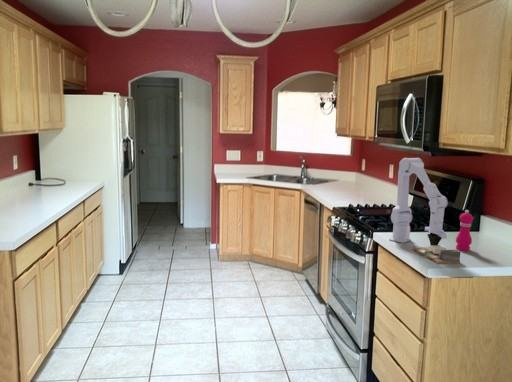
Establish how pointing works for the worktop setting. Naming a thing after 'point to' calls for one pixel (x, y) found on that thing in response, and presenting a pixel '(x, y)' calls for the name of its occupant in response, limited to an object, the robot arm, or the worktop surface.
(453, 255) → the gauge base
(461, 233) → the pepper mill
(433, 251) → the gauge carriage
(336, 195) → the worktop surface
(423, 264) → the worktop surface
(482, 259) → the worktop surface
